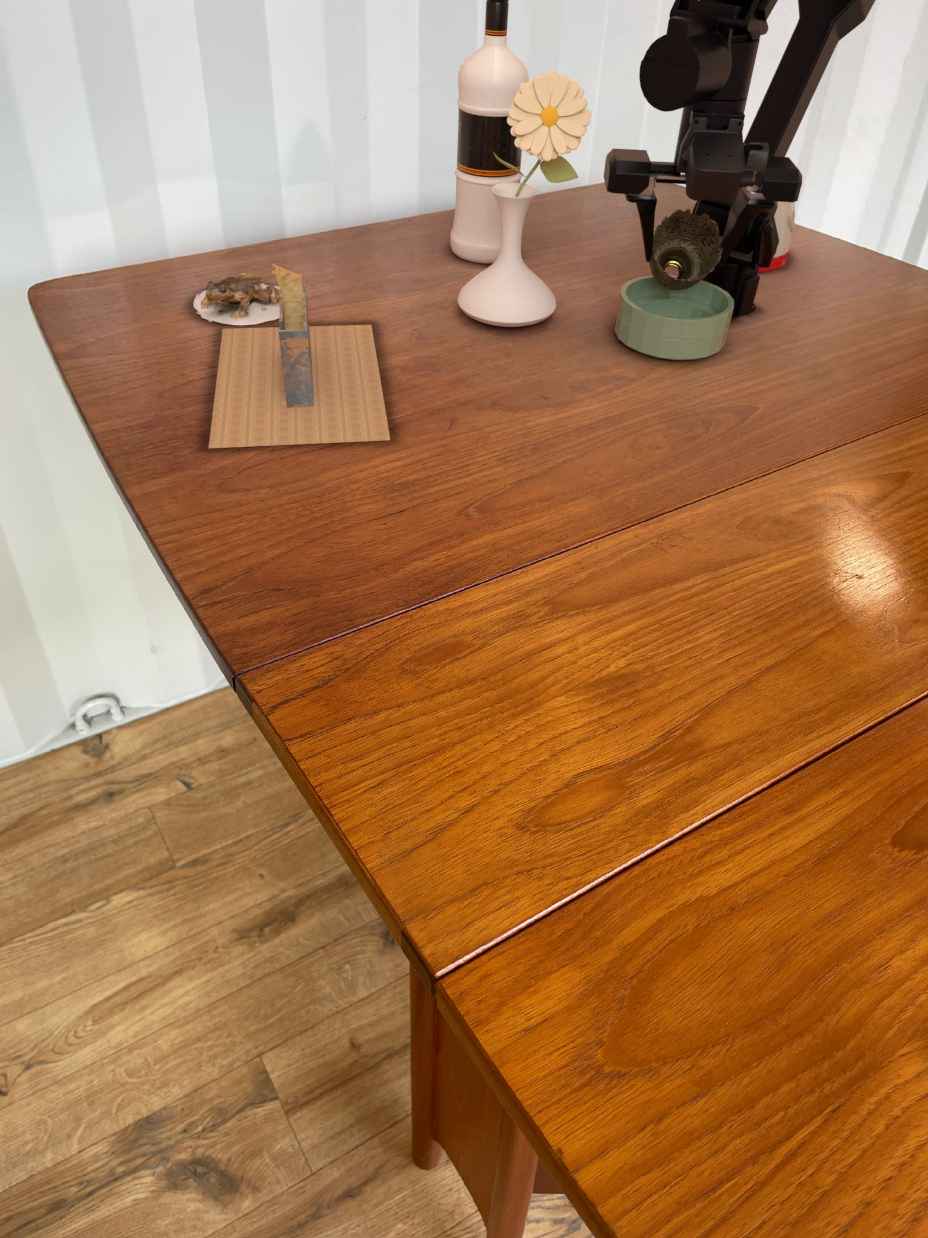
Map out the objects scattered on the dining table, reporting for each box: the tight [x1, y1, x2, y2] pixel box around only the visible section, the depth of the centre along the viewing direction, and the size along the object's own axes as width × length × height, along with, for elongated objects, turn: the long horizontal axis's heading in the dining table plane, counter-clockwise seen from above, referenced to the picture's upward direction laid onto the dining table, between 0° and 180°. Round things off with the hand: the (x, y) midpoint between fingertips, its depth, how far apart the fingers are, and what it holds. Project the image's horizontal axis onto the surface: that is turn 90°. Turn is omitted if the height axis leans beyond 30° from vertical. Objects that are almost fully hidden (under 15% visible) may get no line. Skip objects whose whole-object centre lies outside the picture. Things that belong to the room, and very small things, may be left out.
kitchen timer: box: [758, 202, 796, 273], centre depth 116 cm, size 14×14×15 cm
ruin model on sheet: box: [208, 263, 391, 449], centre depth 87 cm, size 25×16×10 cm, turn 8°
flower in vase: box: [457, 70, 592, 328], centre depth 95 cm, size 13×11×25 cm
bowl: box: [613, 274, 734, 361], centre depth 99 cm, size 12×12×5 cm
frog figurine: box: [193, 269, 280, 326], centre depth 102 cm, size 12×12×4 cm
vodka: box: [449, 0, 530, 265], centre depth 108 cm, size 9×9×30 cm
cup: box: [648, 208, 723, 290], centre depth 97 cm, size 8×7×8 cm
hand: (683, 262), depth 94 cm, fingers closed on cup, 7 cm apart
